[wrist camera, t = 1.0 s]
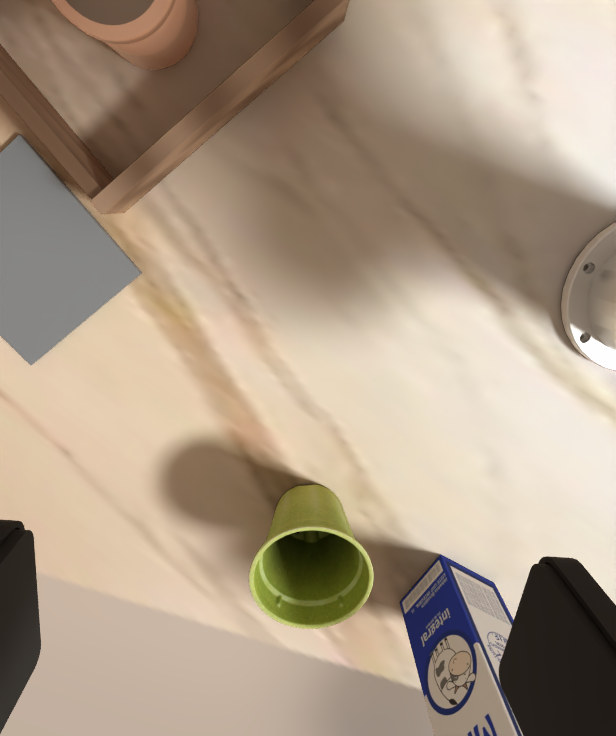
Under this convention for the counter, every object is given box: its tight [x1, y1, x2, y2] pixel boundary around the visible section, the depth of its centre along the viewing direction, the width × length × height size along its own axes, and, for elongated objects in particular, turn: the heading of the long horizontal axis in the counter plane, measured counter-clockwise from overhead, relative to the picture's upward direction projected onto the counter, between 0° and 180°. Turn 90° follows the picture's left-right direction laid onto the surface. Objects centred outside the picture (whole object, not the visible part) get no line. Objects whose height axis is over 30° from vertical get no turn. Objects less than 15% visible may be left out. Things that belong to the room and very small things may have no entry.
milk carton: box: [400, 554, 523, 736], centre depth 39 cm, size 7×7×20 cm
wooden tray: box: [0, 0, 349, 214], centre depth 30 cm, size 20×16×4 cm
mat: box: [0, 135, 142, 365], centre depth 37 cm, size 12×12×1 cm
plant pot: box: [249, 484, 374, 629], centre depth 41 cm, size 9×9×9 cm
